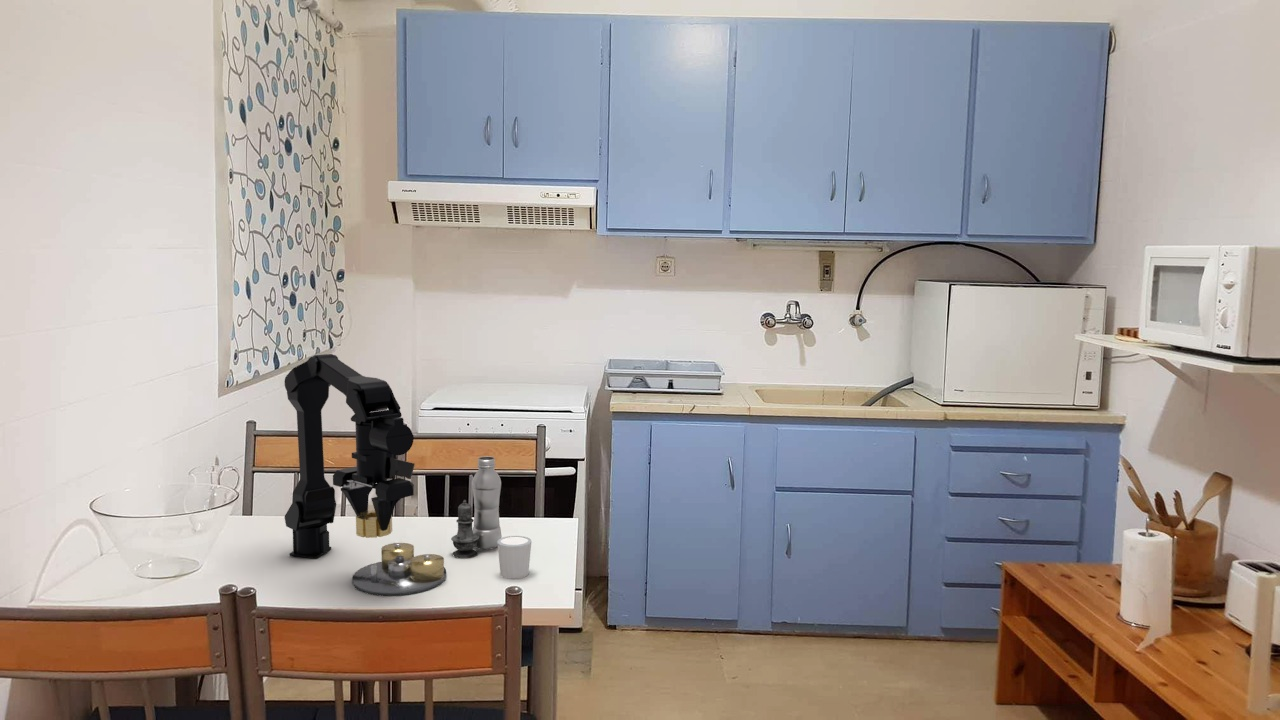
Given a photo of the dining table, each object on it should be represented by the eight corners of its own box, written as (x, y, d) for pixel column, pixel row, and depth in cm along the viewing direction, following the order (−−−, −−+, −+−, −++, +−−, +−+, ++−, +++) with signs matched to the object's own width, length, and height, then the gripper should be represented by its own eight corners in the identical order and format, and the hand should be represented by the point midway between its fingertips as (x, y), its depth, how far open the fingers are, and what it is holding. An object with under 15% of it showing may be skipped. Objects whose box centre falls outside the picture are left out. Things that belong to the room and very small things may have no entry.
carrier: (335, 591, 180) (334, 564, 180) (378, 560, 198) (377, 535, 197) (424, 599, 177) (423, 572, 176) (460, 567, 195) (459, 542, 194)
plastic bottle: (498, 541, 211) (498, 454, 209) (504, 551, 205) (504, 460, 202) (469, 544, 209) (469, 455, 207) (474, 554, 203) (473, 462, 200)
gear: (350, 533, 182) (349, 515, 181) (379, 525, 187) (378, 508, 186) (369, 539, 178) (369, 521, 177) (398, 532, 183) (398, 514, 182)
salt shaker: (473, 559, 199) (472, 504, 198) (447, 557, 200) (446, 502, 199) (483, 550, 205) (482, 496, 203) (457, 548, 206) (457, 494, 205)
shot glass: (493, 570, 193) (493, 537, 192) (526, 566, 196) (526, 533, 195) (502, 581, 187) (502, 547, 186) (535, 577, 190) (535, 543, 189)
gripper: (436, 447, 180) (438, 527, 182) (379, 434, 192) (381, 509, 194) (386, 456, 172) (389, 540, 174) (330, 442, 184) (332, 521, 186)
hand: (373, 526), depth 182 cm, fingers closed on gear, 6 cm apart
